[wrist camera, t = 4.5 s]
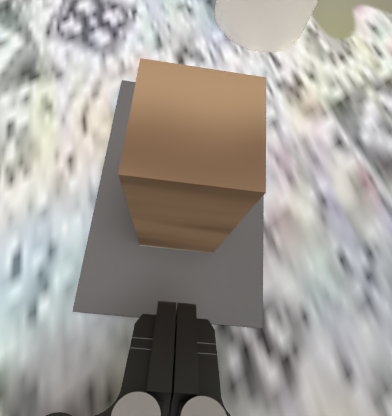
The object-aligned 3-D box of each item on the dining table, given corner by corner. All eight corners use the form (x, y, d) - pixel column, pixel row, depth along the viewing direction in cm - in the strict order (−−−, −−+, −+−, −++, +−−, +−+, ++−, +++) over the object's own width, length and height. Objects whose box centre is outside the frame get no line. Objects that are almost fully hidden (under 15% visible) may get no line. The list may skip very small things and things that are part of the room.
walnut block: (150, 178, 22) (140, 58, 12) (217, 186, 22) (266, 77, 12) (140, 245, 20) (118, 174, 10) (212, 253, 21) (265, 192, 10)
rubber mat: (122, 85, 25) (121, 80, 24) (261, 105, 26) (264, 101, 25) (75, 311, 19) (72, 311, 18) (259, 327, 20) (262, 328, 19)
